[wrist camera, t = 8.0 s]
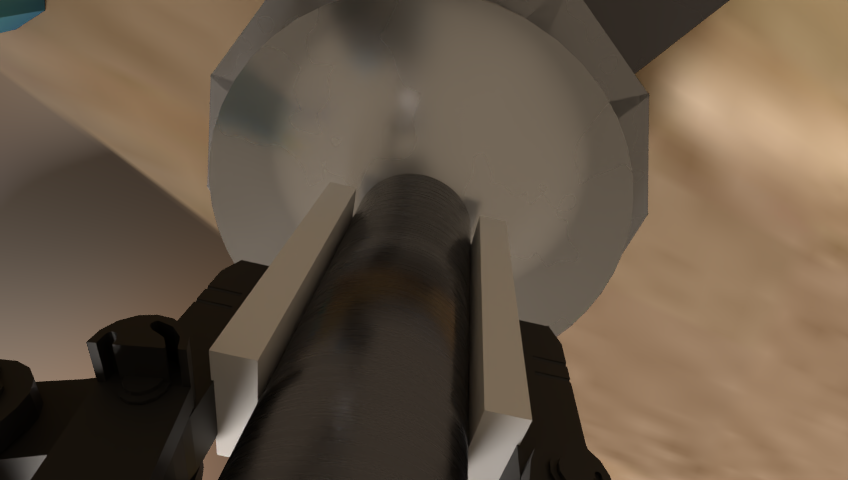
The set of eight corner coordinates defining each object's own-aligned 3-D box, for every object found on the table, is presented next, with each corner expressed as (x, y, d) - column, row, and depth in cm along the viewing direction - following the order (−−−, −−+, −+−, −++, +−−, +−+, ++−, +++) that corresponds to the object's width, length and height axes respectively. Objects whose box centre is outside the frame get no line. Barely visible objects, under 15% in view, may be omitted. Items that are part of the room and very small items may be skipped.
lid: (219, -65, 11) (-785, -246, 2) (705, 49, 12) (1530, 292, 3) (233, 313, 18) (-9, 646, 9) (540, 380, 18) (605, 770, 9)
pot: (386, 337, 28) (362, 432, 22) (187, 173, 24) (91, 238, 18) (741, 94, 19) (864, 146, 13) (530, -254, 14) (570, -421, 8)
